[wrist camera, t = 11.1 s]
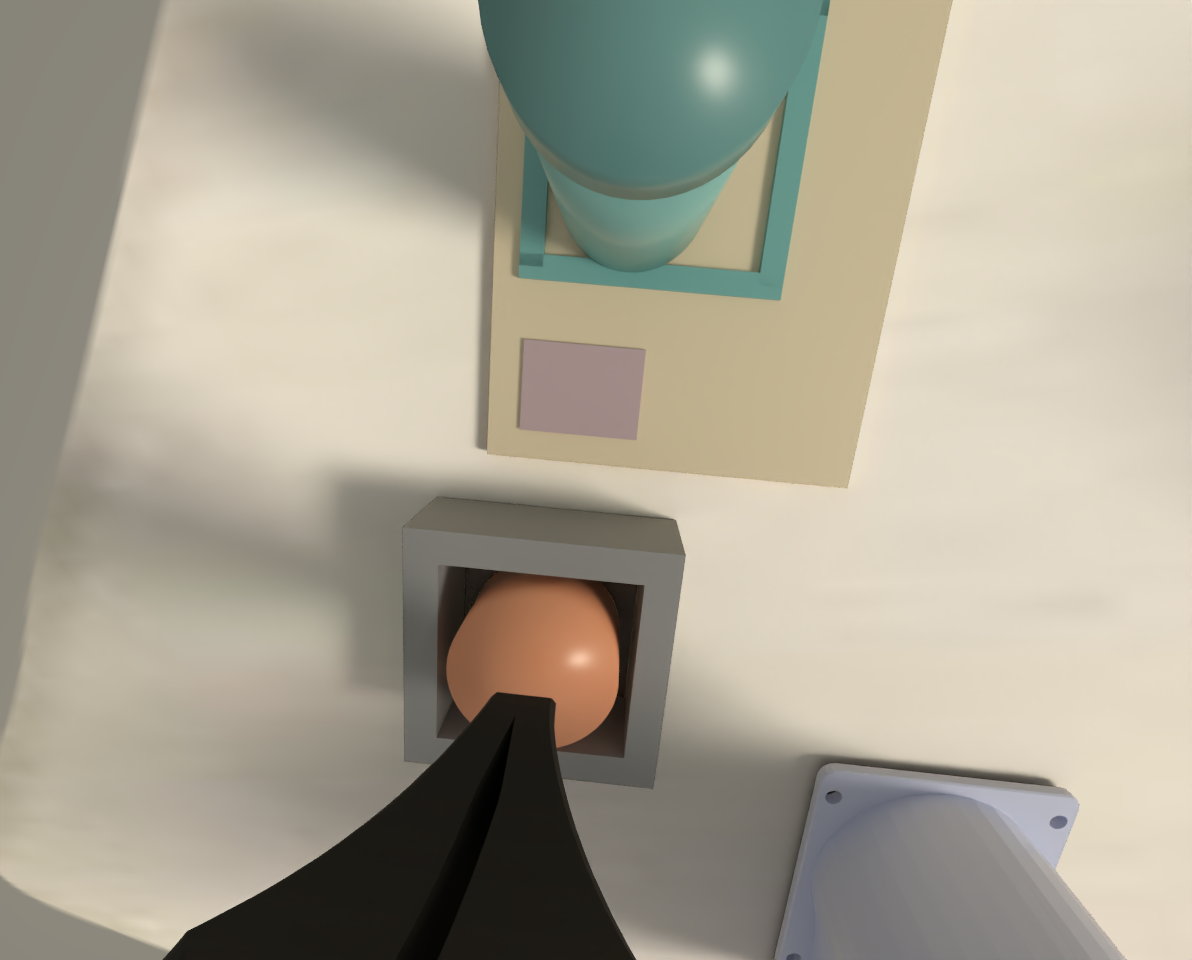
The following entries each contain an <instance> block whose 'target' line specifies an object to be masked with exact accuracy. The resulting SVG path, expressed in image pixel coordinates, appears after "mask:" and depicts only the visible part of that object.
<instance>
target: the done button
mask: <svg viewBox="0 0 1192 960" xmlns="http://www.w3.org/2000/svg"><path fill="white" fill-rule="evenodd" d="M619 636H620V623H619V615H618V612H617V608H616V605H615V603H614V600H613V598H612V597H611V595H610V593H609V592H608V590H607V589H606V588H605V586H604V585H603V584H602V583H601V582H600V581H596V580H586V579H576V578H566V577H556V576H546V575H537V574H527V573H517V572H507V571H498V572H496V573H495V574H494V575H493V576H492V577H491V578H490V579H489V580H488V581H487V582H486V583H485V585H484V586H483V588H482V589H481V591H480V593H479V594H478V596H477V598H476V600H475V601H474V603H473V605H472V607H471V609H470V610H469V612H468V614H467V616H466V618H465V619H464V621H463V623H462V625H461V627H460V628H459V630H458V632H457V634H456V636H455V637H454V639H453V641H452V644H451V646H450V649H449V653H448V657H447V666H446V671H447V681H448V686H449V689H450V692H451V695H452V697H453V699H454V701H455V703H456V705H457V707H458V708H459V710H460V711H461V712H462V714H463V715H464V716H465V717H466V718H467V720H468V721H469V722H470V723H471V721H472V720H473V719H474V718H475V717H476V715H477V714H478V713H479V712H480V710H481V709H482V708H483V707H484V705H485V704H486V703H487V702H488V700H489V699H490V698H491V696H492V695H494V694H495V693H496V692H502V693H510V694H519V695H528V696H537V697H546V698H552V699H553V700H554V702H555V703H556V711H555V724H554V729H555V740H556V748H558V747H562V746H566V745H569V744H572V743H574V742H576V741H579V740H580V739H582V738H584V737H586V736H587V735H589V734H590V733H591V732H593V731H594V730H595V729H596V728H597V727H598V726H599V725H600V724H601V723H602V722H603V721H604V720H605V718H606V717H607V715H608V714H609V712H610V710H611V709H612V707H613V705H614V702H615V699H616V696H617V691H618V684H619Z"/></svg>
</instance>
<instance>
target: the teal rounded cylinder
mask: <svg viewBox="0 0 1192 960" xmlns="http://www.w3.org/2000/svg"><path fill="white" fill-rule="evenodd" d="M822 2H823V0H478V3H479V10H480V18H481V25H482V29H483V34H484V38H485V42H486V46H487V50H488V52H489V55H490V58H491V60H492V63H493V66H494V68H495V71H496V73H497V76H498V78H499V80H500V83H501V85H502V87H503V90H504V92H505V94H506V97H507V99H508V101H509V104H510V106H511V108H512V111H513V113H514V115H515V117H516V119H517V121H518V123H519V124H520V126H521V128H522V130H523V132H524V133H525V135H526V136H527V137H528V139H529V140H530V142H531V143H532V145H533V146H534V147H535V148H536V151H537V153H538V156H539V158H540V161H541V163H542V166H543V168H544V171H545V173H546V176H547V178H548V181H549V183H550V186H551V188H552V191H553V193H554V196H555V199H556V201H557V204H558V206H559V209H560V211H561V214H562V216H563V219H564V221H565V224H566V226H567V229H568V231H569V233H570V235H571V236H572V238H573V240H574V241H575V242H576V244H577V245H578V246H579V248H580V249H581V250H582V251H583V252H584V253H585V254H586V255H587V256H589V257H590V258H591V259H592V260H594V261H596V262H597V263H599V264H600V265H603V266H605V267H607V268H610V269H613V270H616V271H622V272H644V271H649V270H652V269H656V268H658V267H660V266H663V265H665V264H667V263H668V262H670V261H672V260H673V259H674V258H676V257H677V256H678V255H680V254H681V253H682V252H683V251H684V250H685V249H686V248H687V247H688V246H689V244H690V243H691V242H692V240H693V239H694V238H695V236H696V234H697V233H698V231H699V229H700V227H701V226H702V224H703V222H704V220H705V219H706V217H707V215H708V213H709V212H710V210H711V208H712V206H713V205H714V203H715V201H716V199H717V198H718V196H719V194H720V192H721V191H722V189H723V187H724V185H725V184H726V182H727V180H728V178H729V177H730V175H731V173H732V171H733V170H734V168H735V166H736V164H737V163H738V161H739V159H740V158H741V157H742V156H743V155H744V154H745V153H746V152H747V151H748V150H749V149H750V148H751V147H752V146H753V144H754V143H755V142H756V140H757V139H758V138H759V137H760V135H761V134H762V133H763V131H764V130H765V128H766V126H767V125H768V123H769V122H770V120H771V118H772V117H773V115H774V113H775V112H776V110H777V108H778V107H779V105H780V103H781V102H782V100H783V98H784V97H785V95H786V93H787V92H788V90H789V89H790V87H791V85H792V84H793V82H794V80H795V79H796V77H797V75H798V74H799V72H800V69H801V67H802V65H803V63H804V61H805V59H806V56H807V54H808V52H809V50H810V47H811V44H812V41H813V38H814V35H815V32H816V29H817V26H818V21H819V16H820V12H821V7H822Z"/></svg>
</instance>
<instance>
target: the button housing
mask: <svg viewBox="0 0 1192 960" xmlns="http://www.w3.org/2000/svg"><path fill="white" fill-rule="evenodd" d="M402 533H403V652H404V761H407V762H416V763H425V764H433V763H434V762H435V761H436V760H437V759H438V758H439V757H440V756H441V755H442V754H443V753H444V751H445V750H446V749H447V748H448V747H449V746H450V745H451V744H452V743H453V742H454V741H455V739H456V738H457V737H458V736H459V735H460V734H461V733H462V732H463V731H464V730H465V728H466V727H467V726H468V725H469V724H470V722H469V721H468V720H467V718H466V717H465V716H464V715H463V714H462V712H461V711H460V710H459V708H458V707H457V705H456V703H455V701H454V699H453V697H452V695H451V692H450V689H449V686H448V681H447V671H446V666H447V657H448V653H449V649H450V646H451V644H452V641H453V639H454V637H455V636H456V634H457V632H458V630H459V628H460V627H461V625H462V623H463V621H464V619H465V581H466V567H467V568H477V569H487V570H497V571H507V572H517V573H527V574H537V575H546V576H556V577H566V578H576V579H586V580H596V581H606V582H616V583H626V584H636V585H637V591H636V600H635V608H634V617H633V626H632V634H631V643H630V651H629V660H628V669H627V677H626V686H625V695H624V697H616V699H615V702H614V705H613V707H612V709H611V710H610V712H609V714H608V715H607V717H606V718H605V720H604V721H603V722H602V723H601V724H600V725H599V726H598V727H597V728H596V729H595V730H594V731H593V732H591V733H590V734H589V735H587V736H586V737H584V738H582V739H580V740H579V741H576V742H574V743H572V744H569V745H566V746H562V747H558V748H557V755H558V760H559V765H560V771H561V776H562V779H569V780H578V781H588V782H597V783H606V784H615V785H624V786H633V787H642V788H651V789H653V787H654V779H655V772H656V765H657V758H658V751H659V743H660V736H661V729H662V722H663V715H664V707H665V700H666V693H667V686H668V679H669V671H670V664H671V657H672V650H673V643H674V635H675V628H676V621H677V614H678V607H679V599H680V592H681V585H682V578H683V571H684V563H685V556H686V555H685V552H684V548H683V544H682V540H681V537H680V533H679V529H678V526H677V522H676V520H669V519H659V518H649V517H638V516H628V515H618V514H608V513H597V512H587V511H577V510H567V509H557V508H546V507H536V506H526V505H516V504H505V503H495V502H485V501H475V500H464V499H454V498H444V497H436V498H435V499H434V500H433V501H432V502H431V503H430V504H428V505H427V506H426V507H425V508H424V509H423V510H422V511H420V512H419V513H418V514H417V515H416V516H415V517H414V518H413V519H411V520H410V521H409V522H408V523H407V524H406V525H405V526H403V527H402Z"/></svg>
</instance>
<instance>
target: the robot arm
mask: <svg viewBox="0 0 1192 960" xmlns="http://www.w3.org/2000/svg"><path fill="white" fill-rule="evenodd" d="M555 711H556V703H555V702H554V700H553V699H552V698H546V697H537V696H528V695H519V694H510V693H502V692H496V693H495V694H494V695H492V696H491V698H490V699H489V700H488V702H487V703H486V704H485V705H484V707H483V708H482V709H481V710H480V712H479V713H478V714H477V715H476V717H475V718H474V719H473V720H472V721H471V723H470V724H469V725H468V726H467V727H466V728H465V730H464V731H463V732H462V733H461V734H460V735H459V736H458V737H457V738H456V739H455V741H454V742H453V743H452V744H451V745H450V746H449V747H448V748H447V749H446V750H445V751H444V753H443V754H442V755H441V756H440V757H439V758H438V759H437V760H436V761H435V762H434V763H433V764H432V765H431V766H430V767H429V768H428V769H427V770H426V771H424V772H423V773H422V774H421V775H420V776H419V777H418V778H417V779H416V780H415V781H414V782H413V783H412V784H411V785H410V786H409V787H408V788H407V789H406V790H404V791H403V792H402V793H401V794H400V795H399V796H398V797H397V798H395V799H394V800H393V801H392V802H391V803H390V804H388V805H387V806H386V807H385V808H384V809H382V810H381V811H380V812H379V813H378V814H376V815H375V816H374V817H373V818H371V819H370V820H369V821H368V822H366V823H365V824H364V825H362V826H361V827H360V828H358V829H357V830H356V831H354V832H353V833H352V834H350V835H349V836H348V837H346V838H345V839H344V840H342V841H341V842H340V843H338V844H337V845H335V846H334V847H332V848H331V849H330V850H328V851H327V852H325V853H324V854H322V855H321V856H319V857H318V858H316V859H315V860H313V861H312V862H310V863H308V864H307V865H305V866H304V867H302V868H301V869H299V870H297V871H296V872H294V873H293V874H291V875H290V876H288V877H286V878H285V879H283V880H281V881H280V882H278V883H276V884H275V885H273V886H271V887H270V888H268V889H266V890H264V891H263V892H261V893H259V894H257V895H256V896H254V897H252V898H250V899H248V900H246V901H244V902H243V903H241V904H239V905H237V906H235V907H233V908H231V909H229V910H227V911H225V912H224V913H222V914H220V915H218V916H216V917H214V918H212V919H210V920H208V921H207V922H205V923H203V924H201V925H199V926H197V927H195V928H193V929H191V930H188V931H187V932H186V933H185V934H184V936H183V937H182V938H181V939H180V941H179V942H178V943H177V944H176V945H175V946H174V947H173V949H172V950H171V951H170V952H169V953H168V954H167V956H166V957H165V958H164V959H163V960H636V958H635V957H634V955H633V953H632V952H631V950H630V948H629V946H628V945H627V943H626V941H625V939H624V937H623V935H622V933H621V931H620V929H619V928H618V926H617V924H616V922H615V920H614V918H613V916H612V914H611V912H610V910H609V908H608V905H607V903H606V901H605V899H604V897H603V895H602V892H601V890H600V888H599V886H598V884H597V881H596V879H595V877H594V875H593V873H592V870H591V868H590V865H589V863H588V860H587V858H586V855H585V852H584V850H583V847H582V844H581V842H580V839H579V836H578V833H577V830H576V827H575V824H574V821H573V818H572V814H571V811H570V808H569V804H568V800H567V796H566V793H565V789H564V785H563V780H562V776H561V771H560V765H559V760H558V755H557V748H556V740H555V729H554V724H555ZM830 791H836V792H834V793H832V794H827V793H828V792H830ZM1078 810H1079V803H1078V800H1077V799H1076V798H1075V797H1074V796H1073V795H1072V794H1071V793H1070V792H1069V791H1067V790H1066V789H1064V788H1060V787H1051V786H1042V785H1033V784H1024V783H1014V782H1005V781H996V780H987V779H978V778H968V777H959V776H950V775H941V774H931V773H922V772H913V771H904V770H895V769H885V768H876V767H867V766H858V765H849V764H839V763H830V764H827V765H824V766H823V767H822V768H821V769H820V770H819V772H818V774H817V777H816V781H815V786H814V790H813V794H812V799H811V803H810V807H809V811H808V816H807V820H806V824H805V828H804V833H803V837H802V841H801V846H800V850H799V854H798V858H797V863H796V867H795V871H794V875H793V880H792V884H791V888H790V893H789V897H788V901H787V905H786V910H785V914H784V918H783V923H782V927H781V931H780V935H779V940H778V944H777V948H776V952H775V957H774V960H1126V958H1125V957H1124V956H1123V955H1122V953H1121V952H1120V951H1119V950H1118V948H1117V947H1116V946H1115V945H1114V943H1113V942H1112V941H1111V940H1110V938H1109V937H1108V936H1107V935H1106V933H1105V932H1104V931H1103V929H1102V928H1101V927H1100V926H1099V924H1098V923H1097V922H1096V921H1095V919H1094V918H1093V917H1092V916H1091V914H1090V913H1089V912H1088V911H1087V909H1086V908H1085V907H1084V906H1083V904H1082V903H1081V902H1080V901H1079V899H1078V898H1077V897H1076V896H1075V894H1074V893H1073V892H1072V891H1071V889H1070V888H1069V887H1068V886H1067V884H1066V883H1065V882H1064V881H1063V879H1062V878H1061V877H1060V876H1059V874H1058V873H1057V872H1056V871H1055V869H1056V866H1057V864H1058V861H1059V859H1060V856H1061V854H1062V851H1063V848H1064V846H1065V843H1066V841H1067V838H1068V836H1069V833H1070V831H1071V828H1072V826H1073V823H1074V821H1075V818H1076V816H1077V813H1078Z"/></svg>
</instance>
